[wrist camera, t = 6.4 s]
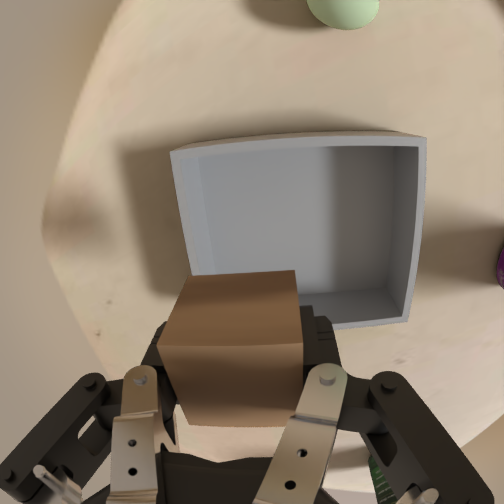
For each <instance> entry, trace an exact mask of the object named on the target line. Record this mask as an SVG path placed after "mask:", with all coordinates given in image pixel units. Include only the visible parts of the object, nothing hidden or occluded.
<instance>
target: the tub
mask: <svg viewBox="0 0 504 504" xmlns="http://www.w3.org/2000/svg"><path fill="white" fill-rule="evenodd" d="M426 153H427V142H426V137H421V136H417V135H412V134H407V133H402V132H395V131H322V132H299V133H282V134H269V135H257V136H246V137H237V138H228V139H219V140H212V141H204V142H197V143H190V144H187V145H185V146H182V147H180V148H177V149H175V150H172V151H170V158H171V164H172V171H173V177H174V183H175V189H176V195H177V201H178V206H179V212H180V217H181V223H182V228H183V233H184V238H185V243H186V248H187V253H188V258H189V263H190V268H191V273H192V276H195V275H215V274H233V273H251V272H268V271H284V270H295V275H296V283H297V292H298V300H299V306H302V305H312V306H313V312H314V316H326V317H327V318H328V319H329V320H330V321H331V322H332V326H333V330H340V329H351V328H360V327H370V326H378V325H387V324H394V323H402V322H408V317H409V312H410V307H411V302H412V297H413V292H414V286H415V280H416V274H417V267H418V260H419V253H420V245H421V237H422V227H423V217H424V204H425V188H426Z"/></svg>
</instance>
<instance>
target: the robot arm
mask: <svg viewBox="0 0 504 504" xmlns="http://www.w3.org/2000/svg"><path fill="white" fill-rule="evenodd" d="M299 309H300V318H301V327H302V337H303V392H302V395H301V397H300V400H299V403H298V406H297V408H296V411H295V414H294V416H290V418H289V420H288V422H287V424H286V427H285V429H284V432H283V434H282V437H281V439H280V442H279V444H278V447H277V449H276V452H275V454H274V456H273V457H249V458H244V459H238V460H233V461H227V462H220V463H216V462H212V461H209V460H206V459H203V458H200V457H196V456H193V455H190V454H184V453H180V449H179V441H178V433H177V423H176V415H175V413H174V408H175V405H176V404H180V403H179V401H178V399H177V396H176V394H175V392H174V389H173V387H172V384H171V382H170V379H169V377H168V374H167V372H166V369H165V367H164V364H163V362H162V359H161V357H160V354H159V351H158V349H157V346H156V345H157V343H158V341H159V338H160V336H161V334H162V332H163V329H164V327H165V325H166V323H167V321H165V322H164V323H163V324H162V325H161V326H160V327H159V328H157V331H156V333H155V335H154V338H153V339H152V341H151V344H150V345H149V347H148V349H147V352H146V354H145V356H144V358H143V360H142V362H141V365H140V366H136V367H134V368H132V369H130V370H129V371H128V372H127V373H126V374H125V376H124V379H120V380H113V381H106V380H105V378H104V376H103V375H101V374H99V373H89V374H86V375H85V376H83V377H81V378H80V379H79V380H78V382H76V383H75V384H74V386H73V387H72V388H71V389H70V390H69V391H68V392H67V393H66V394H65V395H64V396H63V397H62V398H61V399H60V400H59V401H58V402H57V403H56V404H55V406H53V408H52V409H51V410H50V411H49V412H48V413H47V414H46V415H45V416H44V417H43V418H42V419H41V420H40V421H39V423H38V424H37V425H36V426H35V427H34V428H33V429H32V430H31V431H30V432H29V433H28V434H27V436H26V437H25V438H24V439H23V440H22V441H21V442H20V443H19V444H18V445H17V447H16V448H15V449H14V450H13V451H12V452H11V453H10V454H9V455H8V457H7V458H6V459H5V460H4V461H3V462H2V463H1V464H0V488H1V489H2V490H3V491H5V492H6V493H7V494H9V495H10V496H11V497H12V498H13V499H14V500H16V501H17V502H19V503H20V504H339V503H338V502H337V501H336V500H335V499H333V498H332V497H331V496H330V495H329V494H328V493H327V492H326V491H325V490H324V489H323V488H322V486H323V482H324V479H325V476H326V472H327V469H328V465H329V461H330V457H331V454H332V450H333V446H334V443H335V439H336V435H337V431H338V429H340V430H346V431H353V432H359V433H360V435H361V437H362V439H363V441H364V442H365V444H366V446H367V447H368V449H369V451H370V453H371V454H372V456H373V458H374V460H375V461H376V463H377V465H378V467H379V468H380V470H381V472H382V474H383V475H384V477H385V479H386V481H387V482H388V484H389V486H390V487H391V489H392V491H393V493H394V494H395V496H396V498H397V500H398V502H397V503H396V504H494V496H493V494H492V492H491V490H490V489H489V488H488V486H487V485H486V484H485V482H484V481H483V479H482V478H481V477H480V475H479V474H478V473H477V471H476V470H475V468H474V467H473V466H472V464H471V463H470V462H469V460H468V459H467V458H466V456H465V455H464V453H463V452H462V451H461V449H460V448H459V447H458V446H457V444H456V443H455V442H454V440H453V439H452V438H451V436H450V435H449V434H448V432H447V431H446V430H445V428H444V427H443V426H442V425H441V423H440V422H439V421H438V419H437V418H436V417H435V416H434V414H433V413H432V412H431V410H430V409H429V408H428V407H427V405H426V404H425V403H424V402H423V400H422V399H421V398H420V397H419V395H418V394H417V393H416V391H415V390H414V389H413V388H412V386H411V385H410V384H409V383H408V382H407V380H406V379H405V378H404V377H403V376H402V375H400V374H399V373H396V372H392V371H384V372H380V373H378V374H376V375H375V376H374V377H373V378H372V379H371V380H369V379H361V378H356V377H353V376H351V375H349V374H348V373H347V372H346V371H345V370H344V369H343V368H342V365H341V361H340V357H339V352H338V348H337V343H336V340H335V334H334V330H333V326H332V322H331V321H330V320H329V319H328V318H327V317H326V316H314V312H313V306H312V305H302V306H299ZM92 415H93V416H94V418H95V421H94V422H93V423H92V424H91V425H90V426H89V427H88V429H87V430H86V431H85V432H84V433H83V434H82V436H81V437H80V438H79V439H78V433H79V431H80V429H81V428H82V427H83V426H84V425H85V424H86V422H87V421H88V420H89V419H90V418H91V417H92ZM110 452H111V482H110V484H109V485H108V486H106V487H105V488H103V489H102V490H100V491H99V492H97V493H95V494H94V495H92V496H91V497H89V498H88V499H86V500H85V501H83V498H82V492H81V490H82V489H83V487H84V486H85V485H86V483H87V482H88V481H89V480H90V478H91V477H92V476H93V474H94V473H95V472H96V470H97V469H98V468H99V467H100V465H101V464H102V463H103V461H104V460H105V459H106V457H107V456H108V455H109V454H110Z"/></svg>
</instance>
